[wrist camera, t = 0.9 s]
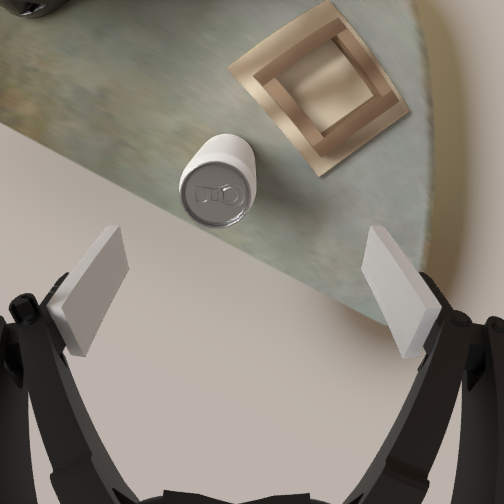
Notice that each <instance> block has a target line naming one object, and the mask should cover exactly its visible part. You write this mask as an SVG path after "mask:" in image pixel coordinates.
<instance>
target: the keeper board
mask: <svg viewBox="0 0 504 504" xmlns="http://www.w3.org/2000/svg"><path fill="white" fill-rule="evenodd" d="M226 69H227V70H228V71H229V72H230V73H231V74H232V75H233V76H234V77H235V78H236V79H237V80H238V81H239V82H240V83H241V84H242V86H243V87H244V88H245V89H246V90H247V91H248V92H249V93H250V94H251V95H252V97H253V98H254V99H255V100H256V101H257V102H258V103H259V104H260V106H261V107H262V108H263V109H264V110H265V111H266V112H267V114H268V115H269V116H270V117H271V118H272V119H273V121H274V122H275V123H276V124H277V125H278V126H279V128H280V129H281V130H282V131H283V132H284V134H285V135H286V136H287V137H288V139H289V140H290V141H291V142H292V143H293V145H294V146H295V147H296V148H297V150H298V151H299V152H300V153H301V155H302V156H303V157H304V158H305V160H306V161H307V162H308V163H309V165H310V166H311V167H312V169H313V170H314V171H315V173H316V174H317V175H318V176H319V177H320V176H321V175H322V174H324V173H325V172H326V171H328V170H329V169H331V168H332V167H333V166H335V165H336V164H337V163H339V162H340V161H342V160H343V159H344V158H346V157H347V156H348V155H350V154H351V153H352V152H354V151H355V150H357V149H358V148H359V147H361V146H362V145H364V144H365V143H366V142H368V141H369V140H370V139H372V138H373V137H375V136H376V135H377V134H379V133H380V132H382V131H383V130H384V129H386V128H387V127H389V126H390V125H391V124H393V123H394V122H396V121H397V120H398V119H400V118H401V117H403V116H404V115H405V114H407V113H408V112H410V111H409V109H408V107H407V106H406V104H405V102H404V101H403V99H402V97H401V96H400V94H399V92H398V91H397V89H396V88H395V86H394V85H393V83H392V81H391V80H390V78H389V77H388V75H387V74H386V72H385V71H384V69H383V68H382V67H381V65H380V64H379V62H378V61H377V59H376V58H375V57H374V55H373V54H372V52H371V51H370V50H369V48H368V47H367V46H366V44H365V43H364V42H363V40H362V39H361V38H360V37H359V35H358V34H357V33H356V32H355V30H354V29H353V28H352V27H351V25H350V24H349V23H348V22H347V21H346V19H345V18H344V17H343V16H342V15H341V13H340V12H339V11H338V10H337V9H336V8H335V7H334V5H333V4H332V3H331V2H330V1H329V0H325V1H323V2H322V3H320V4H318V5H317V6H315V7H313V8H312V9H310V10H308V11H307V12H305V13H303V14H302V15H300V16H299V17H297V18H295V19H294V20H292V21H291V22H289V23H288V24H286V25H285V26H283V27H282V28H280V29H279V30H277V31H276V32H274V33H273V34H272V35H270V36H269V37H267V38H266V39H265V40H263V41H262V42H260V43H259V44H258V45H256V46H255V47H254V48H252V49H251V50H250V51H248V52H247V53H246V54H244V55H243V56H242V57H240V58H239V59H238V60H236V61H235V62H234V63H233V64H231V65H230V66H229V67H228V68H226Z"/></svg>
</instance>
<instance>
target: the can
mask: <svg viewBox="0 0 504 504" xmlns="http://www.w3.org/2000/svg"><path fill="white" fill-rule="evenodd" d="M179 190H180V199H181V203H182V206H183V208H184V210H185V212H186V213H187V215H188V216H189V217H190V218H191V219H192V220H193V221H195V222H196V223H198V224H200V225H202V226H205V227H208V228H225V227H229V226H231V225H233V224H235V223H237V222H238V221H239V220H241V219H242V218H243V217H244V215H245V214H246V213H247V212H248V211H249V209H250V208H251V206H252V204H253V202H254V199H255V196H256V166H255V157H254V153H253V150H252V148H251V146H250V145H249V144H248V143H247V142H246V141H245V140H244V139H242V138H241V137H239V136H236V135H233V134H220V135H217V136H214V137H212V138H211V139H209V140H208V141H207V142H206V143H205V144H204V145H203V146H202V147H201V148H200V150H199V151H198V152H197V153H196V154H195V156H194V157H193V158H192V160H191V161H190V162H189V164H188V165H187V166H186V168H185V170H184V171H183V173H182V176H181V179H180V186H179Z"/></svg>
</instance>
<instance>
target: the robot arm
mask: <svg viewBox="0 0 504 504" xmlns="http://www.w3.org/2000/svg"><path fill="white" fill-rule="evenodd" d="M67 1H68V0H0V5H1V6H2V7H3V8H5V9H6V10H7V11H9V12H10V13H11V14H13V15H16V16H19V17H27V18H36V17H40V16H44V15H46V14H49V13H51V12H52V11H54V10H56V9H58V8H59V7H61V6H62V5H63V4H65V3H66V2H67ZM128 270H129V267H128V262H127V258H126V253H125V249H124V244H123V240H122V235H121V230H120V226H107V227H106V228H105V229H104V230H103V232H102V233H101V234H100V235H99V237H98V238H97V239H96V240H95V241H94V242H93V244H92V245H91V246H90V248H89V249H88V250H87V251H86V252H85V254H84V255H83V256H82V258H81V259H80V260H79V261H78V263H77V264H76V266H75V267H74V268H73V269H72V271H71V272H70V273H68V272H67V273H66V274H64V275H63V276H62V277H60V278H59V279H58V281H57V282H56V283H55V285H54V287H52V289H51V290H50V292H49V293H48V294H47V295H46V297H45V299H44V300H43V301H42V302H41V304H40V305H38V303H37V301H36V298H35V296H34V295H33V294H31V293H25V294H22V295H19V296H18V297H16V298H15V299H14V300H13V301H12V302H11V303H10V305H9V311H10V313H11V315H12V317H13V319H14V320H15V322H16V323H10V324H7V323H6V321H5V320H4V318H3V317H2V316H0V504H38V503H37V497H36V492H35V486H34V479H33V471H32V463H31V453H30V440H29V418H28V391H29V395H30V399H31V403H32V407H33V410H34V414H35V418H36V421H37V425H38V428H39V431H40V434H41V437H42V440H43V443H44V446H45V449H46V452H47V454H48V457H49V460H50V462H51V465H52V468H53V473H51V474H50V480H51V483H52V486H53V488H54V491H55V493H56V495H57V497H58V500H59V502H60V504H232V503H228V502H225V501H221V500H217V499H214V498H210V497H207V496H204V495H200V494H194V493H185V492H176V491H169V490H164V492H163V496H158V497H153V498H149V499H146V500H143V501H141V502H140V501H139V499H138V498H137V497H136V495H135V494H134V493H133V492H132V491H131V489H130V488H129V487H128V486H127V484H126V483H125V482H124V480H123V478H122V477H121V475H120V473H119V472H118V470H117V468H116V467H115V465H114V463H113V462H112V460H111V458H110V456H109V454H108V452H107V451H106V449H105V447H104V445H103V443H102V441H101V439H100V437H99V436H98V433H97V431H96V430H95V427H94V425H93V423H92V421H91V419H90V417H89V414H88V412H87V410H86V408H85V406H84V404H83V401H82V399H81V396H80V394H79V392H78V389H77V387H76V384H75V382H74V379H73V377H72V374H71V371H70V368H69V366H68V363H67V360H66V357H65V356H64V354H63V350H64V348H65V346H67V348H68V350H69V352H70V354H71V355H75V356H81V357H86V354H87V352H88V350H89V348H90V345H91V343H92V341H93V339H94V337H95V335H96V333H97V331H98V328H99V326H100V324H101V322H102V320H103V318H104V316H105V314H106V312H107V310H108V308H109V306H110V304H111V302H112V300H113V299H114V297H115V294H116V293H117V291H118V289H119V287H120V285H121V283H122V281H123V280H124V278H125V276H126V274H127V272H128ZM361 270H362V272H363V274H364V276H365V278H366V280H367V282H368V284H369V286H370V288H371V290H372V292H373V294H374V296H375V298H376V301H377V303H378V305H379V307H380V309H381V311H382V313H383V315H384V317H385V320H386V322H387V324H388V326H389V328H390V330H391V333H392V335H393V337H394V340H395V342H396V344H397V346H398V349H399V351H400V353H401V355H402V358H403V359H405V358H412V357H417V356H418V355H419V353H420V352H421V350H422V347H424V349H425V351H426V355H425V357H424V359H423V361H422V363H421V364H420V366H419V368H418V374H417V376H416V378H415V381H414V383H413V385H412V388H411V390H410V392H409V394H408V396H407V398H406V400H405V403H404V405H403V407H402V409H401V411H400V413H399V415H398V417H397V419H396V421H395V423H394V425H393V427H392V428H391V430H390V432H389V434H388V436H387V438H386V440H385V441H384V443H383V445H382V447H381V448H380V450H379V452H378V453H377V455H376V457H375V458H374V460H373V462H372V463H371V465H370V467H369V468H368V470H367V472H366V473H365V475H364V476H363V478H362V479H361V481H360V482H359V484H358V485H357V486H356V488H355V489H354V490H353V492H352V493H351V494H350V495H349V496H348V498H347V499H346V500H345V501H344V502H343V504H421V503H422V501H423V499H424V497H425V495H426V493H427V490H428V488H429V483H430V482H429V480H427V477H428V474H429V472H430V469H431V467H432V465H433V462H434V460H435V458H436V455H437V453H438V450H439V448H440V445H441V443H442V440H443V437H444V435H445V432H446V429H447V426H448V423H449V420H450V417H451V414H452V412H453V408H454V405H455V402H456V398H457V395H458V391H459V388H460V384H461V380H462V413H461V432H460V444H459V454H458V462H457V470H456V477H455V483H454V489H453V495H452V500H451V504H504V320H503V319H501V318H498V317H496V316H491V317H489V318H488V319H487V321H486V323H485V325H481V324H475V323H472V321H471V319H470V318H469V317H468V316H467V315H466V314H465V313H463V312H461V311H457V310H453V308H452V307H451V305H450V304H449V303H448V301H447V300H446V298H445V297H444V295H443V294H442V293H441V292H440V290H439V288H438V287H436V284H435V283H434V281H433V280H432V279H431V278H430V277H429V276H428V275H426V274H425V273H424V272H418V271H417V270H416V268H415V267H414V266H413V264H412V263H411V262H410V260H409V259H408V258H407V256H406V255H405V254H404V252H403V251H402V250H401V248H400V247H399V246H398V244H397V243H396V242H395V240H394V239H393V238H392V237H391V235H390V234H389V233H388V231H387V230H386V229H385V228H384V226H376V225H370V229H369V234H368V239H367V244H366V249H365V254H364V258H363V263H362V267H361ZM241 504H329V503H326V502H324V501H319V500H314V499H310V493H306V494H293V495H277V496H271V497H267V498H263V499H259V500H254V501H250V502H245V503H241Z"/></svg>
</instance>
